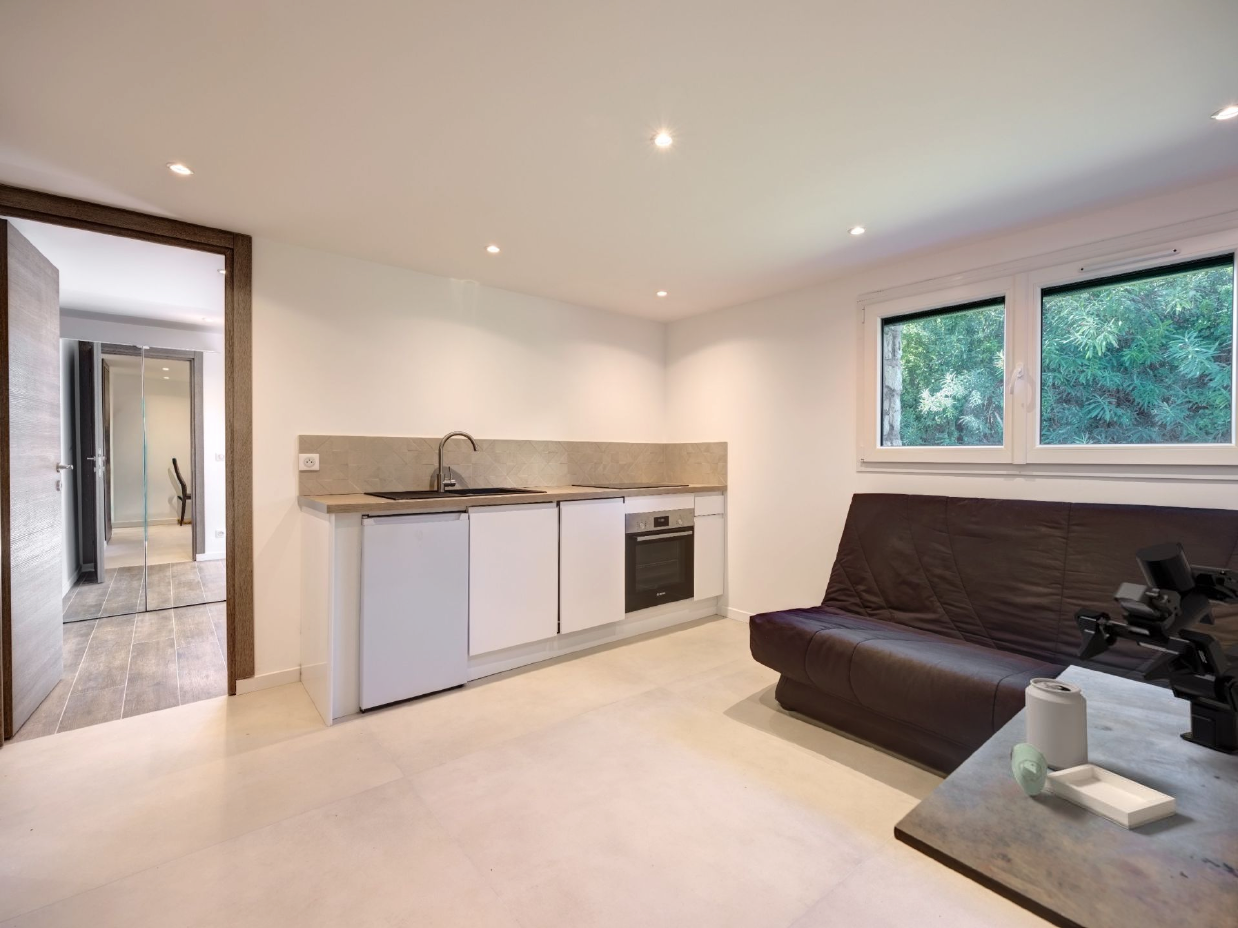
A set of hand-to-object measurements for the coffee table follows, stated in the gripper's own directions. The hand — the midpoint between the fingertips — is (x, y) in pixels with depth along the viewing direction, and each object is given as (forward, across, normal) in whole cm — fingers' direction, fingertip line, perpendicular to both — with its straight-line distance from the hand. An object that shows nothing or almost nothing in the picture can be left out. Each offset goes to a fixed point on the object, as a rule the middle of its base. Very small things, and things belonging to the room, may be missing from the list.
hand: (1110, 667), depth 88 cm
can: (+16, -1, +8) cm, 17 cm away
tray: (+19, +9, +5) cm, 22 cm away
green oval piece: (+27, +5, +2) cm, 27 cm away
